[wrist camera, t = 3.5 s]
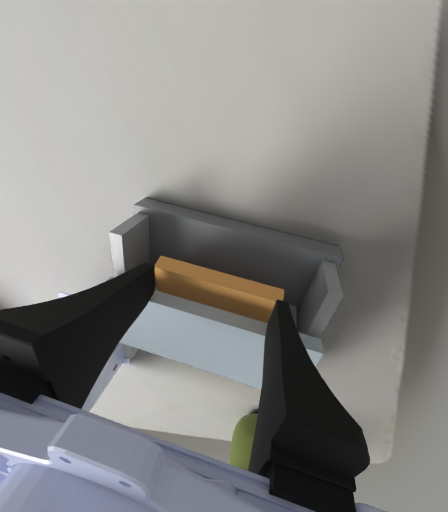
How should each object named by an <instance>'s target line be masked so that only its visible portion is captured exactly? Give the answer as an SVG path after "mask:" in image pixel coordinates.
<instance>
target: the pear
mask: <svg viewBox="0 0 448 512" xmlns="http://www.w3.org/2000/svg"><path fill="white" fill-rule="evenodd" d="M257 415H258V414H256V413H253V414H248V415H246V416H244V417H243V418H241V419H240V421H239V422H238V423H237V425H236V427H235V430H234V433H233V437H232V442H231V449H230V464H231V465H233V466H236V467H239V468H241V469H244V470H247V471H248V467H249V462H250V456H251V451H252V445H253V439H254V433H255V427H256V421H257Z"/></svg>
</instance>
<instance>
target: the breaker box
mask: <svg viewBox="0 0 448 512" xmlns="http://www.w3.org/2000/svg"><path fill="white" fill-rule="evenodd" d="M109 236H110V244H111V253H112V262H113V270H114V278H115V277H117V276H119V275H121V274H123V273H125V272H127V271H129V270H131V269H133V268H135V267H136V266H138V265H140V264H142V263H145V262H146V263H150V264H153V265H155V264H156V262H157V261H158V259H159V258H160V256H165V257H168V258H172V259H175V260H179V261H183V262H186V263H190V264H193V265H197V266H201V267H204V268H208V269H211V270H215V271H219V272H222V273H226V274H229V275H233V276H237V277H240V278H244V279H247V280H251V281H255V282H258V283H262V284H265V285H269V286H273V287H276V288H280V289H283V290H284V298H283V301H285V302H288V303H289V306H290V310H291V313H292V316H293V319H294V322H295V325H296V327H297V330H298V332H299V333H302V334H305V335H309V336H312V337H316V338H319V339H320V337H321V335H322V333H323V332H324V330H325V328H326V326H327V325H328V323H329V321H330V319H331V318H332V316H333V314H334V312H335V311H336V309H337V307H338V305H339V304H340V302H341V300H342V299H343V297H344V295H343V291H342V288H341V284H340V280H339V276H338V272H337V270H338V268H339V266H340V264H341V262H342V260H343V255H342V252H341V249H340V246H336V245H332V244H328V243H324V242H320V241H316V240H312V239H308V238H304V237H300V236H296V235H292V234H288V233H284V232H280V231H276V230H272V229H268V228H264V227H260V226H256V225H252V224H248V223H244V222H240V221H236V220H232V219H228V218H224V217H220V216H216V215H212V214H208V213H204V212H200V211H196V210H192V209H188V208H184V207H180V206H176V205H172V204H168V203H164V202H160V201H156V200H152V199H148V198H144V199H142V200H141V201H139V202H137V203H136V204H134V216H132V217H131V218H129V219H128V220H126V221H125V222H123V223H122V224H121V225H119V226H118V227H116V228H115V229H113V230H112V231H110V232H109ZM155 286H156V287H157V283H156V277H155ZM122 348H123V356H124V357H127V358H130V359H133V357H134V355H135V354H136V352H137V351H138V348H135V347H132V346H129V345H126V344H123V343H122Z"/></svg>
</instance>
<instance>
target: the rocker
mask: <svg viewBox="0 0 448 512" xmlns="http://www.w3.org/2000/svg"><path fill="white" fill-rule="evenodd" d="M155 277H156V283H157V287H156V286H155V290H157V291H160V292H164V293H167V294H170V295H174V296H177V297H181V298H184V299H187V300H191V301H194V302H197V303H201V304H204V305H208V306H211V307H214V308H218V309H221V310H224V311H228V312H231V313H235V314H238V315H241V316H245V317H248V318H251V319H255V320H258V321H262V322H265V323H268V321H269V319H270V316H271V313H272V311H273V308H274V305H275V303H276V300H277V299H278V300H281V301H283V298H284V290H283V289H280V288H276V287H273V286H269V285H265V284H262V283H258V282H255V281H251V280H247V279H244V278H240V277H237V276H233V275H229V274H226V273H222V272H219V271H215V270H211V269H208V268H204V267H201V266H197V265H193V264H190V263H186V262H183V261H179V260H175V259H172V258H168V257H165V256H160V258H159V259H158V261H157V262H156V264H155Z"/></svg>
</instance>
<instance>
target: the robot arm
mask: <svg viewBox="0 0 448 512" xmlns="http://www.w3.org/2000/svg"><path fill="white" fill-rule="evenodd" d="M154 292H155V265H153V264H150V263H146V262H145V263H142V264H140V265H138V266H136V267H135V268H133V269H131V270H129V271H127V272H125V273H123V274H121V275H119V276H117V277H115V278H113V279H110V280H108V281H106V282H104V283H101V284H99V285H97V286H95V287H92V288H89V289H87V290H84V291H81V292H78V293H75V294H72V295H69V294H66V293H63V292H59V293H58V295H59V298H58V299H55V300H51V301H47V302H42V303H38V304H33V305H28V306H22V307H16V308H10V309H3V310H1V311H0V512H386V511H384V510H381V509H378V508H375V507H373V506H370V505H367V504H363V503H355V502H354V496H353V492H355V491H356V485H355V479H354V477H356V476H357V475H358V474H360V473H361V472H362V471H364V470H365V469H366V468H367V467H368V465H369V464H370V457H369V452H368V448H367V444H366V441H365V438H364V435H363V431H362V428H361V427H360V426H359V425H358V424H357V422H356V421H355V420H354V419H353V418H352V417H351V416H350V414H349V413H348V412H347V411H346V410H345V409H344V407H343V406H342V405H341V403H340V402H339V401H338V400H337V398H336V397H335V396H334V394H333V393H332V392H331V390H330V389H329V387H328V386H327V384H326V383H325V381H324V380H323V378H322V377H321V375H320V374H319V372H318V370H317V369H316V367H315V365H314V364H313V362H312V360H311V358H310V356H309V354H308V352H307V350H306V348H305V346H304V344H303V342H302V340H301V337H300V335H299V332H298V330H297V327H296V325H295V322H294V319H293V316H292V313H291V310H290V306H289V303H288V302H285V301H281V300H278V299H277V300H276V303H275V305H274V308H273V311H272V313H271V316H270V319H269V321H268V324H267V329H266V335H265V341H264V359H263V378H262V389H261V396H260V402H259V409H258V415H257V421H256V427H255V433H254V439H253V445H252V451H251V456H250V462H249V467H248V471H247V470H244V469H241V468H239V467H236V466H233V465H231V464H227V463H225V462H222V461H220V460H217V459H214V458H211V457H209V456H206V455H203V454H201V453H198V452H195V451H193V450H190V449H187V448H185V447H182V446H179V445H176V444H174V443H171V442H168V441H166V440H163V439H160V438H158V437H155V436H152V435H149V434H146V433H144V432H141V431H139V430H136V429H133V428H131V427H128V426H125V425H122V424H120V423H117V422H114V421H112V420H109V419H106V418H104V417H101V416H98V415H95V414H93V413H90V412H89V411H90V410H91V408H92V407H93V406H94V404H95V403H96V401H97V400H98V398H99V397H100V395H101V394H102V392H103V391H104V389H105V388H106V386H107V385H108V383H109V382H110V380H111V379H112V377H113V376H114V375H115V373H116V372H117V370H118V369H119V367H120V366H121V364H122V363H124V364H127V365H129V364H130V358H125V357H124V356H123V348H122V343H119V342H120V340H121V339H122V337H123V336H124V335H125V333H126V332H127V331H128V329H129V328H130V327H131V325H132V324H133V323H134V322H135V320H136V319H137V318H138V316H139V315H140V314H141V312H142V311H143V310H144V308H145V307H146V306H147V304H148V302H149V301H150V299H151V297H152V295H153V294H154ZM61 297H62V298H61Z"/></svg>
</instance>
